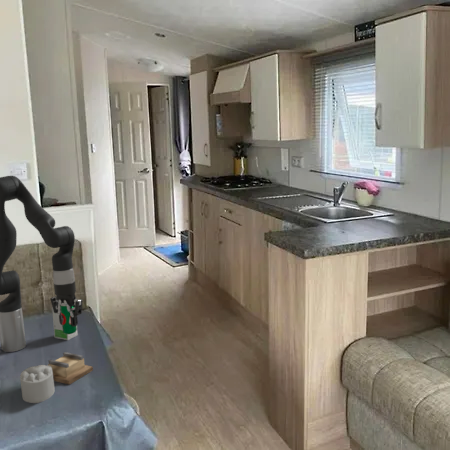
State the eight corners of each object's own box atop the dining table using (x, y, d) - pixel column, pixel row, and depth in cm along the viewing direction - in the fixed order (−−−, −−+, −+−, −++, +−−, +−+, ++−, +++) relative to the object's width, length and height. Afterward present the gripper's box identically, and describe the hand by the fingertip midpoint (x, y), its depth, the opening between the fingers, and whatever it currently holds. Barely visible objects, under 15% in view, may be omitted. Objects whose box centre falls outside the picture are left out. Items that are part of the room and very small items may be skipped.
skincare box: (54, 338, 220) (50, 304, 218) (64, 332, 226) (61, 299, 224) (68, 340, 217) (65, 306, 214) (79, 335, 223) (75, 301, 220)
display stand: (41, 377, 183) (39, 361, 181) (65, 364, 193) (63, 349, 192) (69, 384, 176) (67, 368, 175) (93, 370, 186) (91, 354, 185)
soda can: (73, 334, 183) (69, 303, 181) (60, 334, 184) (56, 303, 182) (79, 329, 188) (76, 299, 186) (67, 329, 189) (63, 299, 187)
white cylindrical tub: (54, 382, 178) (51, 359, 177) (55, 399, 166) (52, 375, 165) (22, 388, 175) (20, 365, 173) (21, 406, 163) (18, 381, 161)
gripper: (42, 282, 183) (47, 326, 185) (71, 285, 176) (76, 330, 179) (57, 276, 189) (61, 319, 192) (86, 279, 183) (90, 323, 185)
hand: (68, 324), depth 185 cm, fingers closed on soda can, 5 cm apart
